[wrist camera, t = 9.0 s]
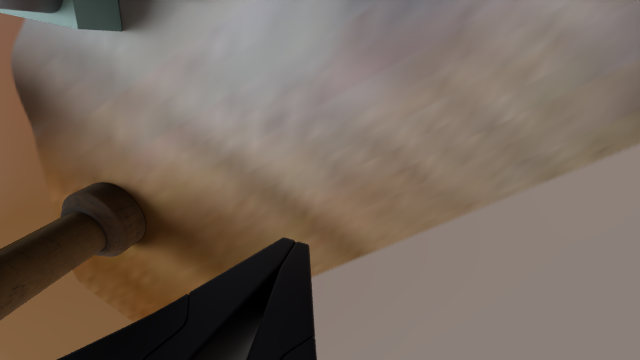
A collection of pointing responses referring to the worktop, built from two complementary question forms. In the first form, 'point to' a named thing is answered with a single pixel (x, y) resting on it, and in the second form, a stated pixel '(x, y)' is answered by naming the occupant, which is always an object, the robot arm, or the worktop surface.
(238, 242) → the worktop surface
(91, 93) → the worktop surface
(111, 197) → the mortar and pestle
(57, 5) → the stool seat
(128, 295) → the worktop surface
